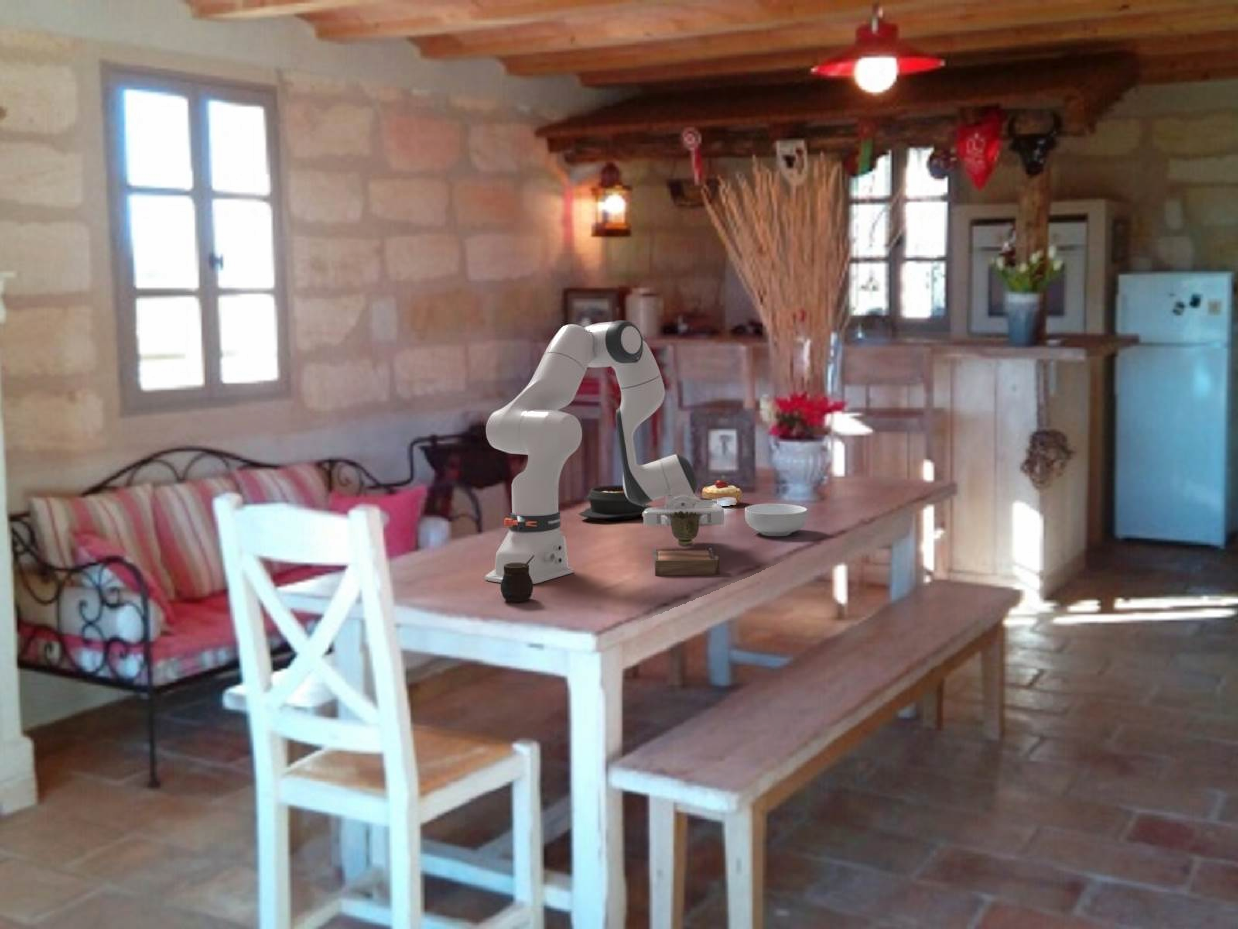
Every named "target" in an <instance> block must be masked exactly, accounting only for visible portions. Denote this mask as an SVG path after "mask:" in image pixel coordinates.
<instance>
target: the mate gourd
mask: <svg viewBox="0 0 1238 929" xmlns="http://www.w3.org/2000/svg"><path fill="white" fill-rule="evenodd" d="M533 557H534V555H533V556H532V557H531V558H530V560H529V561H528V562H527V563H520V562H515V563H508V564H505V565H504V576H503V579H502V581H501V582H500V585H499V586H500V592H501V594H502V595H501V596H502V597H503V599H505V601H507V602H508V603H524V602H526V601H528V600H529V599H530V598H531V597H532V595H533V594H532V593H533V591H534V584H533V582H532V579H531V577H530V575H529V565H528V563H529V562H530V561H531V560H532V559H533Z"/></svg>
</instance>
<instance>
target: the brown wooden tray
mask: <svg viewBox="0 0 1238 929" xmlns="http://www.w3.org/2000/svg"><path fill="white" fill-rule="evenodd" d="M652 551H653V561H654V562H653V564H654V576H703V575H704V576H706V575H708V576H709V575H712V576H713V575H714V576H715V575H716V576H717V575H720V559H719V556H718V555H715V554H714V551H713V548H712V547H708V549H702V550H701V549H699V550H698V549H696V550H695V549H694V550H691V549H690V550H689V549H688V550H657V548H653V550H652Z"/></svg>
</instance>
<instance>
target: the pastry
mask: <svg viewBox="0 0 1238 929" xmlns="http://www.w3.org/2000/svg"><path fill="white" fill-rule="evenodd" d="M721 478H725V479H726V481H725V480H724V479H722V480H720V479H718V480H715V483H714V484H713V485H710V486H708V485H707V486H703V488H702V494H701V496H702V498H707V499H717V498H722V497H734V498H736V500H737V503H736V506H738V504H739V503H740V501H741V499H742V494H743V491H742V490H741V489H740V488H739V487H738V488H737V486H735V485H729V483H728V482H727V480H728V479H727V478H728V477H726V476H725V475H724V474H723V475H722V477H721Z"/></svg>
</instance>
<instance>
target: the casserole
mask: <svg viewBox="0 0 1238 929" xmlns="http://www.w3.org/2000/svg"><path fill="white" fill-rule="evenodd" d="M586 498H587V499H588V501H589V506H590V507H589V508H585V510H583V511H581V512H579V513H578V515H579V516H581V517H584V518H590V519H600V520H606V521H616V520H617V521H620V520H621V521H622V520H630V519H634V518H637V517H638V516H639V515H642V513H643V512H644V510H645V509H646V508H650V507H653V506H652V505H650V504H649V505H648V504H645V505H643V506H640V505H637V504H634V503H632V502H630V501H629V500H628V499H627V497H626V495H625V493H624V489H623V484H621V485H619V484H615V485H614V484H613V485H612V484H611V485H601V486H596V487H592V488H590V490H589V493H588V495H587V496H586Z"/></svg>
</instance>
